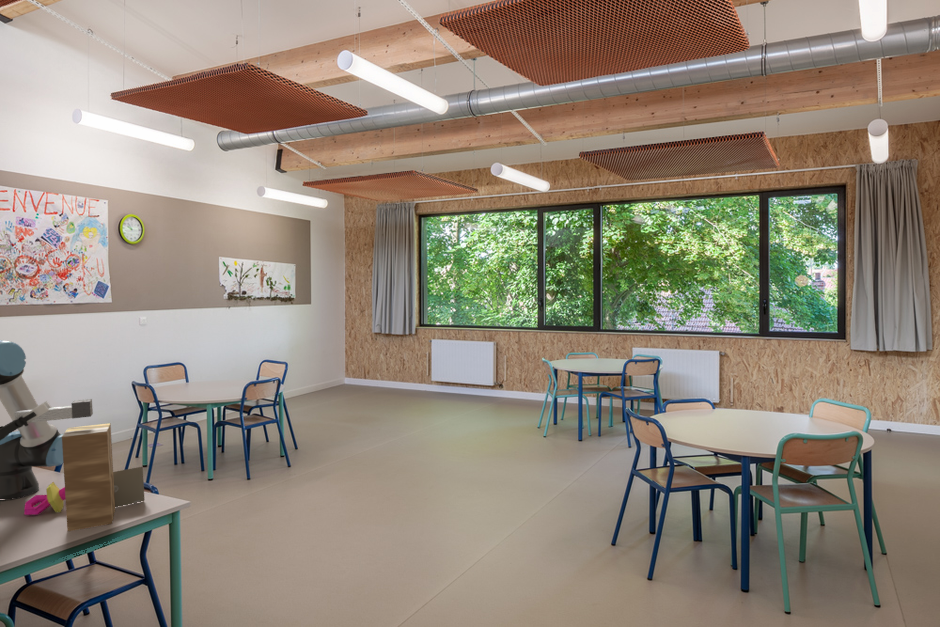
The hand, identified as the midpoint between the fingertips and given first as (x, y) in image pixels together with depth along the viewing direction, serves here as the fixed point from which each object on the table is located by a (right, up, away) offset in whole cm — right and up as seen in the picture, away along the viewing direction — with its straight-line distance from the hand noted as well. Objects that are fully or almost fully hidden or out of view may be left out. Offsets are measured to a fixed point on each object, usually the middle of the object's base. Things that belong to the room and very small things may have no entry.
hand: (47, 405), depth 189 cm
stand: (+12, -38, +4) cm, 40 cm away
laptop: (+9, -38, +20) cm, 44 cm away
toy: (-8, -39, +15) cm, 42 cm away
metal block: (+2, -4, +1) cm, 5 cm away
